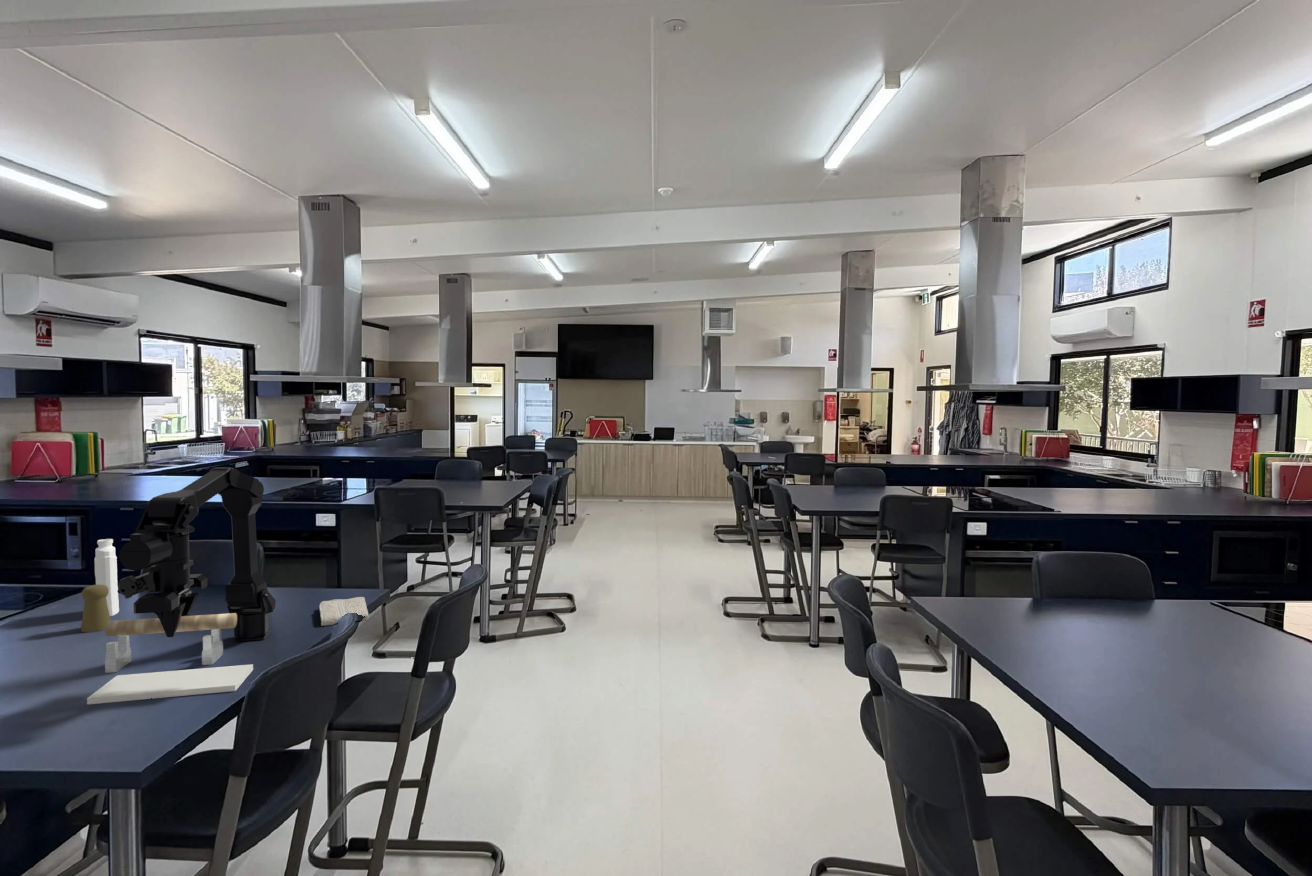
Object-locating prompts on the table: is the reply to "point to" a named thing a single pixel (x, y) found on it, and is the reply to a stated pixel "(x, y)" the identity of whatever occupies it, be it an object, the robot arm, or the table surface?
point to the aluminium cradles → (121, 652)
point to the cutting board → (171, 684)
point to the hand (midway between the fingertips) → (174, 634)
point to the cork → (95, 608)
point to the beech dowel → (184, 625)
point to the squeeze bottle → (107, 572)
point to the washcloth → (341, 609)
